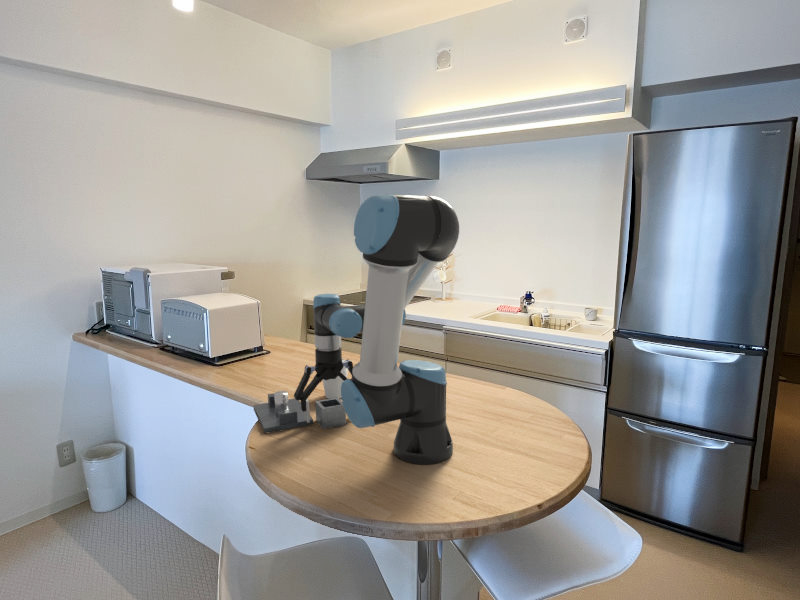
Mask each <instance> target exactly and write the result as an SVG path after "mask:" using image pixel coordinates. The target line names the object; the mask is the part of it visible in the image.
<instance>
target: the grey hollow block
mask: <svg viewBox="0 0 800 600" xmlns="http://www.w3.org/2000/svg"><path fill="white" fill-rule="evenodd" d="M315 420H316V423H317V424H318V425H319V426H320V427H321V429H322V430H325V429H331V428H335V427H337V428H338V427H342V426H346V425H347V414H346V411H345V409H344V406H343V402H342V399H341V398H340V399H339V398H332V399H328V398H326V399H321V400H316V401H315Z"/></svg>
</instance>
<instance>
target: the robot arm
mask: <svg viewBox="0 0 800 600" xmlns="http://www.w3.org/2000/svg"><path fill="white" fill-rule="evenodd" d="M355 215H356V216H355V220H354V225H353V236H354V237H355V238H354V243H355V246H356V247H357V250H358V251H359V252H361V253H362V259H363V260H364V262H365V263H366V264H367V265H368V273H367V282H366V294H365V303H364V304H358V305H347V306H342V305H341V297H340V295H338V294H336V293H320V294H316V295H314V297H313V303H312V304H313V307H312V310H313V327H314V328H313V329H314V331H313V332H314V347H315V351H314V352H315V353H314V355H315V357H314V358H315V365H314V366H309V365H305V366H304V373H303V375H302V377H301V379H300V381H299V383H298V386H297V387H296V390H295V392H294V394H293V397H294V398H295V399H296V400H299V401H300V402H301V409H302V411H303V412H304V411H305V420H306V422H307V423H309V422H310V416H311V415H310V414H311V413H310V400H309V399H308V398H309V397H310V395H312V393H313V391H314V390H315V389H316V388H317V386H318V385H319V384H320V383H321V382H323V379H324V380H329V379H336V377H338V376H339V377H340V378H341V379H342V380H343V381H344V382H343V383H342V385H341V397H342V398H341V401H342V402H343V406H344V409H345V411H346V417H347V418H348V420H349V421H350V423H352V425H353V426H354V427H356V428H358V429H364V428H365V429H366V428H370V427H372V428H375V426H378V425H382V424H386V423H387V424H388V423H391V422H394V421H395V422H396V421H400V422H399V425H398V428H397V431H396V433H395V434H396V435H395V437H394V440H393V453H394V455H395V456H396V457H397V458H398V459H400V460H402V461H403V462H406V463H410V464H414V465H433V464H438V463H442V462H444V461H447V460H448V459H449V458H450V457H451V456H452V455H453V452H454V448H453V447H454V445H453V439H452V435H451V433H450V431H449V427H448V424H447V385H448V382H447V374H446V373H447V372H446V370H445V368H444V367H443V366H442V365H440V364H439V363H435V362H432V361H428V360H427V361H426V360H419V359H418V360H417V359H407V360H402V361H401V362H399V366H398V358H399V351H400V350H399V349H400V344H401V343H400V342H401V337H402V330H403V329H402V327H403V325H404V324H405V321H406V320H405V319H406V316H407V313H406V307H407V306H408V305H409V304H410V303H411V301H412V300H413V298H415V297H414V296H415V295H416V294H417V293H418V291H419V290H420V288H421V287H422V286H423V284H424V283H425V282H426V280H427V279H428V278H429V276H430V275H431V273H432V272H433V271H434V269H435V268H436V267H437V265H439V263H443V262H444V261H446V260H447V259H448V258H449V256H450V255H451V254H452V252H453V250H454V249H455V248H456V245H457V243H458V239H459V235H460V222H459V218H458V216H457V213H456V211H455V209H454V208H453V207H452V205H451V204H449V203H448V201H446V200H445V199H442V198H440V197H437V196H434V195H405V194H389V193H388V194H380V195H377V194H376V195H371V196H369V197H367V198H365V200H364V201H363V203H361V205H360V206H359V208H358V210H357V213H356V214H355ZM360 333H361V335H362V336H361V346H360V356H359V362H357V363H356V364H354V363H353V362H352V361H351V360H350V359H349V358H348V359H345V360H346V361H345V362H342V359H343V357H342V351H343V350H342V338H344V339H351V338H354V337H355V336H357V335H358V334H360ZM344 366H345V368H347V369H348V373H349V374H350V375H351V378H348V377H347V378H346V377H345V376H344V375H343V374H342V373H341V370H342V369H343V367H344ZM314 372H316V374H315V375H314V376H313V379H312V380H311V381H310V383H309V384H308V382H309V380H310V378H311V375H312V374H313V373H314Z"/></svg>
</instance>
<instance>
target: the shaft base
mask: <svg viewBox="0 0 800 600" xmlns="http://www.w3.org/2000/svg"><path fill="white" fill-rule="evenodd" d="M253 411H254V414H255V415H256V418H257V420H258V422H259V421H260V422H259V424H261V425H260V426H262V427H261V429H262V428H263V429H262V431H263V430H264V431H263V433H265V434H267V433H266V432H270V433H274V432H273V431H276V432H280V430H281V431H286V430H291V428H292V429H296V428H301V427H308V426H313V425H314V419H313V417H312V416H311V415H310V422H309V423H307V422H306V420H305V411H304V412H303V411H302V409H301V400H296V399H295V397H294V398H290V399H289V392H288V391H287V390H279V391H276V392H273V393H267V402H264V403H259V404H258V403H257V404H253ZM285 429H286V430H285Z"/></svg>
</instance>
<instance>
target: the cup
mask: <svg viewBox="0 0 800 600" xmlns="http://www.w3.org/2000/svg"><path fill="white" fill-rule="evenodd" d="M346 360H347V359H344V358H342V362H345V361H346ZM341 373H342V374H343V375H344V376H345V377H346V378H347V379H348V373H349V370H348V369H347V368H345V366H344V367H343V369H342V370H341ZM343 382H344V381H343V380H342V379H341V378H340V377H339V376H338V377H336V379H329V380H324V379H323V380H322V385H323V390H324V396H325V398H326V399H332V398H339V399H340V400H341V399H342V397H341V385H342V383H343Z"/></svg>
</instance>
